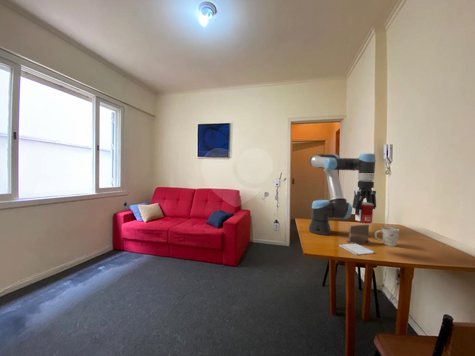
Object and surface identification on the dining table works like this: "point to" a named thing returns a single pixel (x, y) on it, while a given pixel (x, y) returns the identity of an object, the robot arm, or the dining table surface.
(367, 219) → the canned food
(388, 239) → the mug
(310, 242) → the dining table surface
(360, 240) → the brown block
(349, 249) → the mat
